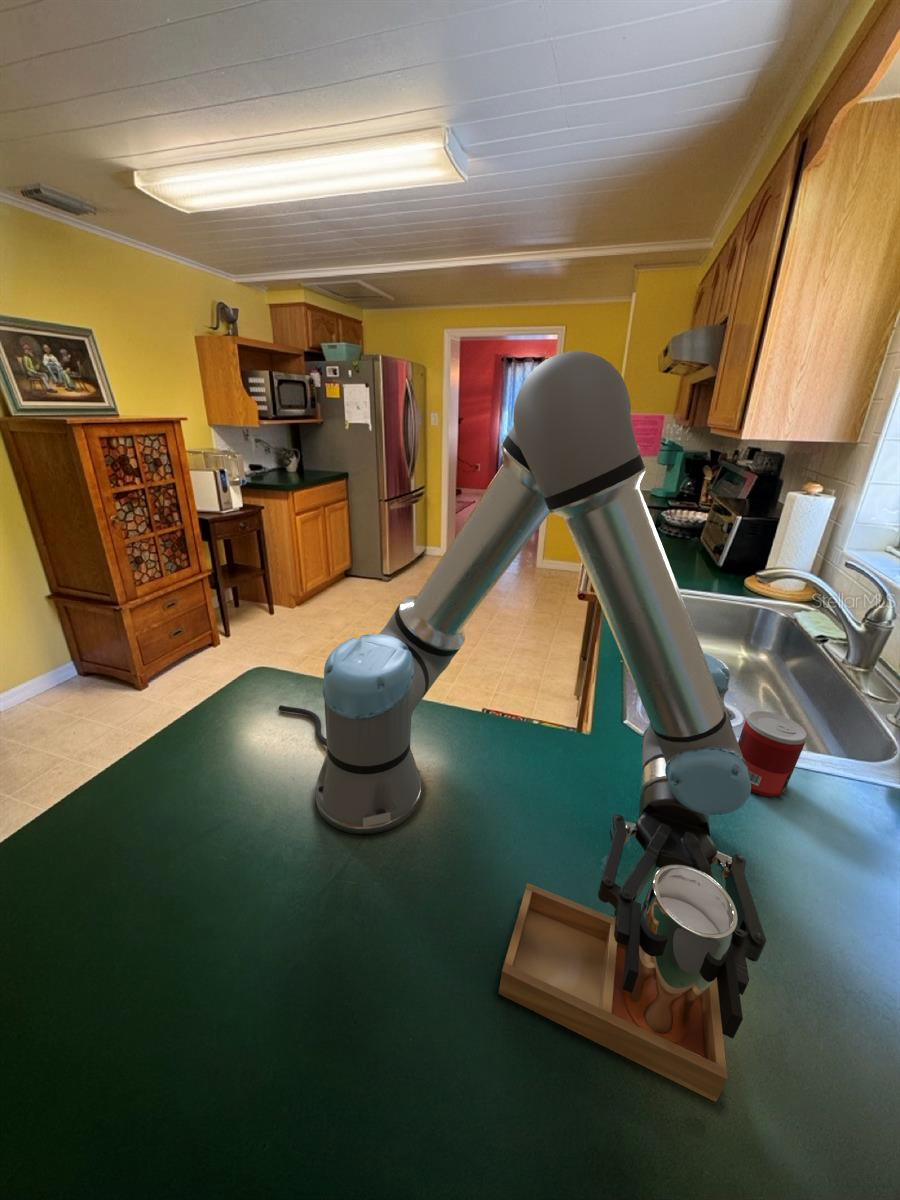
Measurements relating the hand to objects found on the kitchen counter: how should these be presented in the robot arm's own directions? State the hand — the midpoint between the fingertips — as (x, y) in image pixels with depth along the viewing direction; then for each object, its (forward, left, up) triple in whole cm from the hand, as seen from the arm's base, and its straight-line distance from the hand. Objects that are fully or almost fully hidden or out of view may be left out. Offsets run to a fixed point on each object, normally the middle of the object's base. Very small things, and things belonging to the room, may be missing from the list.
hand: (679, 1002), depth 38 cm
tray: (-5, +5, -10) cm, 12 cm away
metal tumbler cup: (0, +5, -9) cm, 10 cm away
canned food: (+15, +47, -10) cm, 50 cm away
